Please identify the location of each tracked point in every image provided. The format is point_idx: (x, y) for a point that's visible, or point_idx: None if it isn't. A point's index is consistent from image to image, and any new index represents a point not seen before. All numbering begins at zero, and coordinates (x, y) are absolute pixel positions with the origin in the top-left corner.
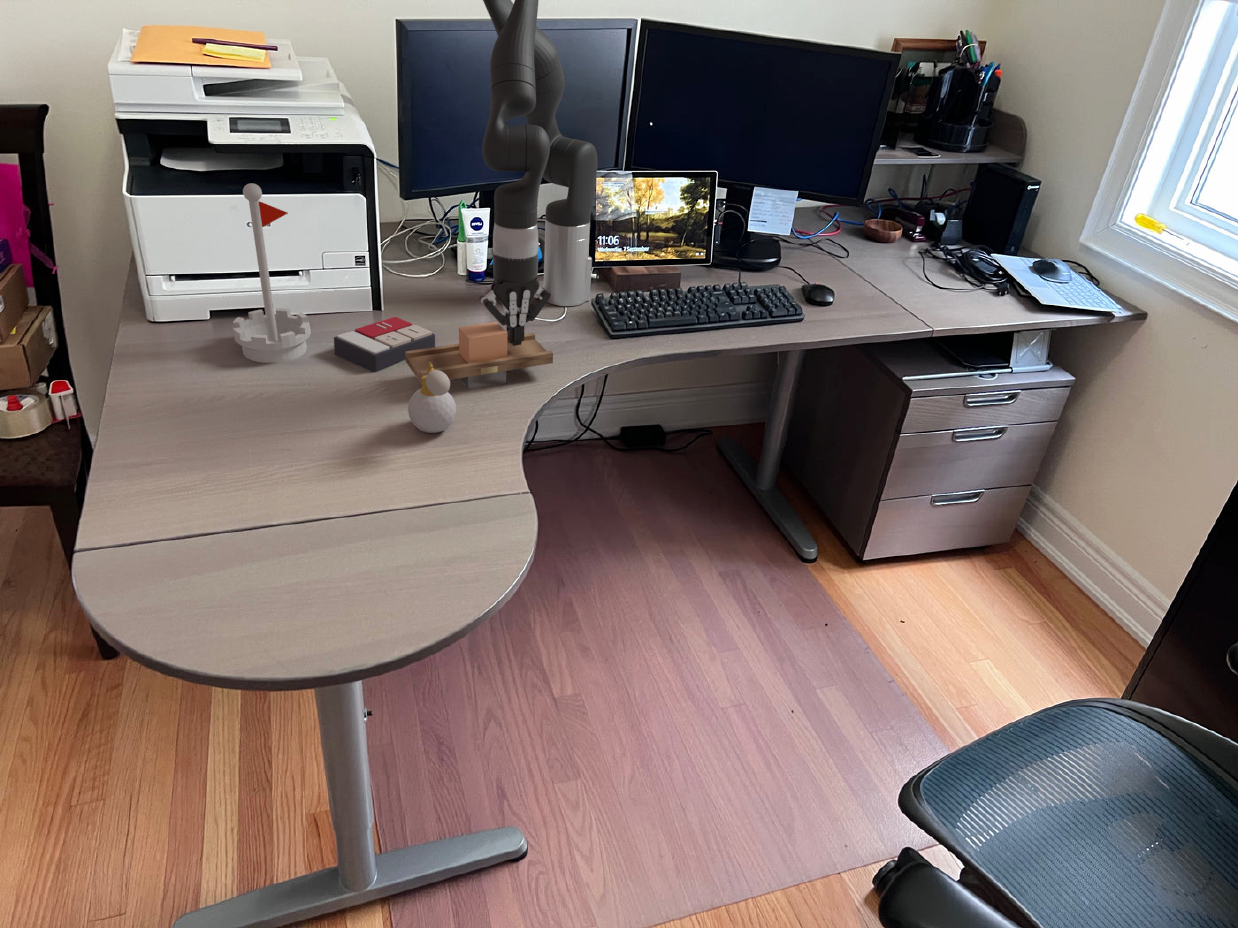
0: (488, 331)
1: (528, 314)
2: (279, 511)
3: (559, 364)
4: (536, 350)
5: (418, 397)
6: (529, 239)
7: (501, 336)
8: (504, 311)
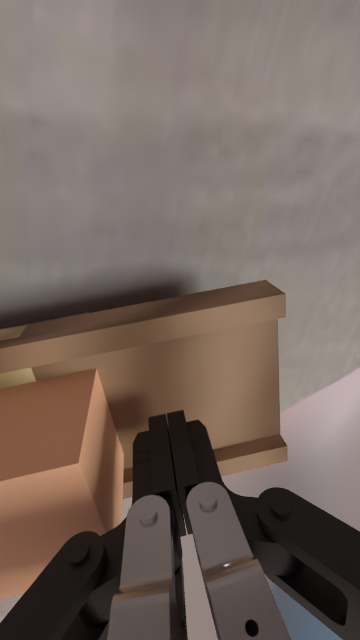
0: (19, 562)
1: (274, 572)
2: None
3: (306, 322)
4: (245, 402)
5: None
6: None
7: None
8: (120, 584)
